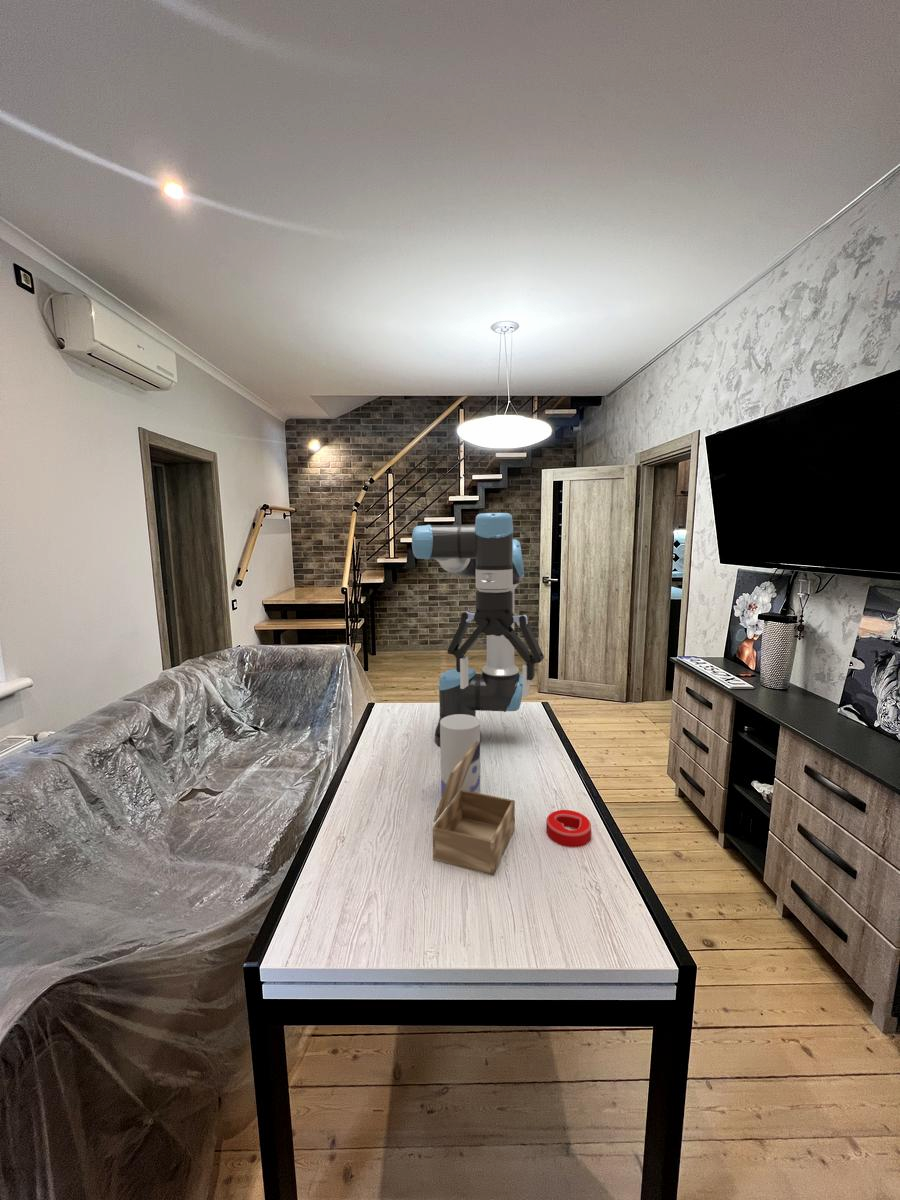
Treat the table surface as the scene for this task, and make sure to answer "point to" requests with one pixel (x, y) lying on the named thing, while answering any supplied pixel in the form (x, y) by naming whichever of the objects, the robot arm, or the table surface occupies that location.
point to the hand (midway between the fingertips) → (494, 690)
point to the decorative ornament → (563, 835)
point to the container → (460, 749)
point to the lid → (455, 780)
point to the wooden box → (474, 831)
